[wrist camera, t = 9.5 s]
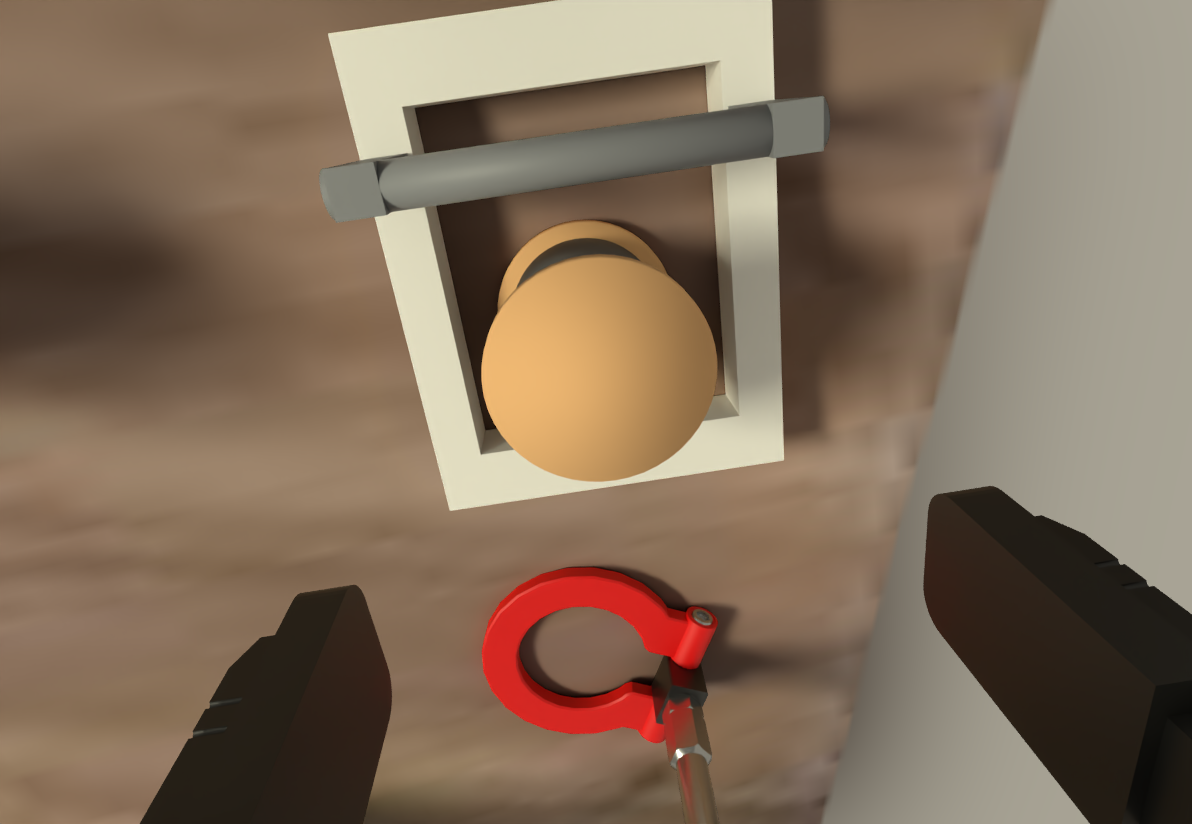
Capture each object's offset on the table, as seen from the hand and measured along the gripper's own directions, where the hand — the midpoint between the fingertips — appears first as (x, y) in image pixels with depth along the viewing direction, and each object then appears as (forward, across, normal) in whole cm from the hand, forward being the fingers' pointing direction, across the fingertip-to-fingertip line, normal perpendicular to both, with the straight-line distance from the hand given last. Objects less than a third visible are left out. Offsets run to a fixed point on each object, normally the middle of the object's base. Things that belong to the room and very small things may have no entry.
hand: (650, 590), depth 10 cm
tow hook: (+16, +2, +15) cm, 22 cm away
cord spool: (+15, 0, 0) cm, 16 cm away
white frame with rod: (+15, 0, -2) cm, 15 cm away
